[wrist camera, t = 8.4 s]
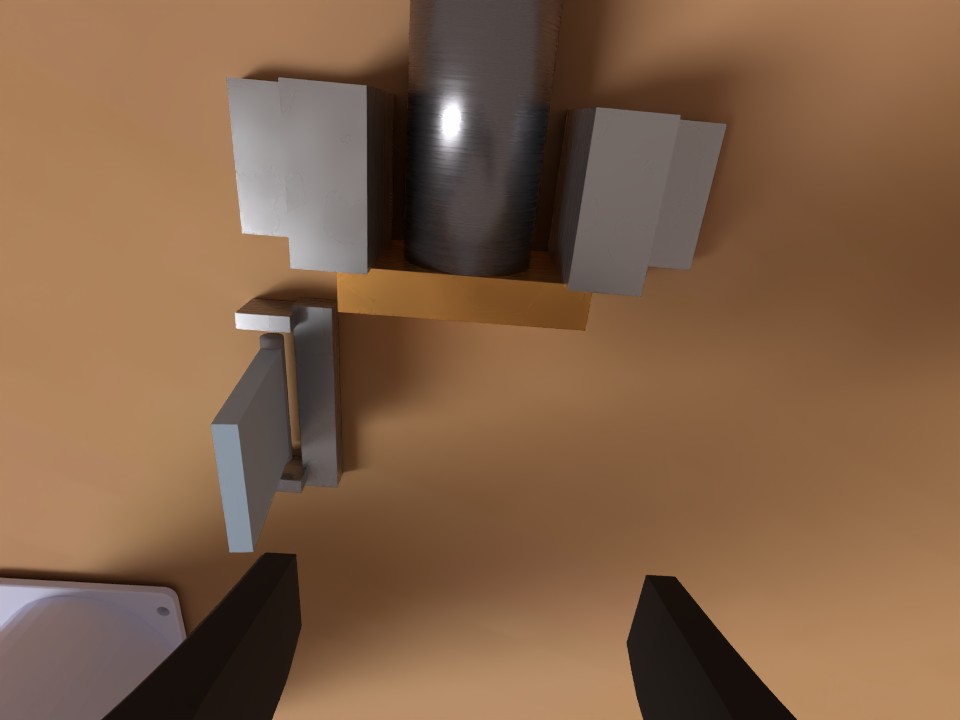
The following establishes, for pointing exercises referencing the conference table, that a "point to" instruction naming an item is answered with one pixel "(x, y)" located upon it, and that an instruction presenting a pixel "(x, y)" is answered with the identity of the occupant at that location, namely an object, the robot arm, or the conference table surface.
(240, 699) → the robot arm
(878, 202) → the conference table surface
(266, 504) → the plate
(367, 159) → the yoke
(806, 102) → the conference table surface
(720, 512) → the conference table surface
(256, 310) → the tab mount
